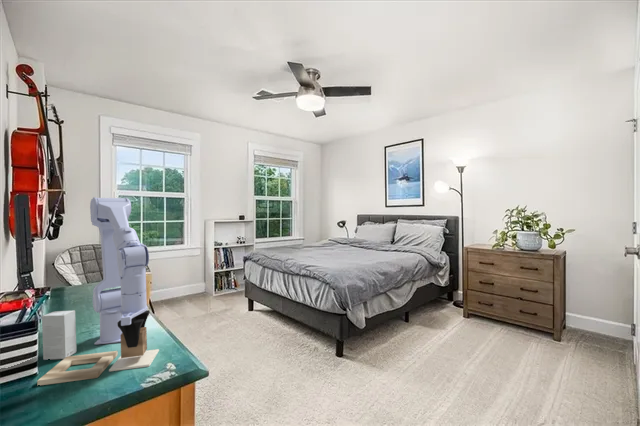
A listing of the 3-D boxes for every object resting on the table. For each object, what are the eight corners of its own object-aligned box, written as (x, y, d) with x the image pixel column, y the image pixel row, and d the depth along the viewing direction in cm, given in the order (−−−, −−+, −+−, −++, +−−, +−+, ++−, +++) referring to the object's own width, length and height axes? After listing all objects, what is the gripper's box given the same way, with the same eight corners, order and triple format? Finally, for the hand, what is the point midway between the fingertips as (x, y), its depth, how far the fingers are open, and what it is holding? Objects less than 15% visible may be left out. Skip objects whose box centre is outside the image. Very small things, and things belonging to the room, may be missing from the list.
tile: (123, 355, 85) (123, 353, 85) (158, 350, 87) (158, 349, 87) (109, 371, 76) (109, 369, 76) (149, 366, 78) (149, 364, 78)
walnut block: (126, 351, 82) (125, 329, 82) (146, 348, 84) (146, 326, 84) (121, 358, 79) (120, 335, 78) (143, 355, 80) (142, 332, 80)
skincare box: (77, 352, 87) (76, 310, 87) (65, 359, 83) (64, 315, 83) (55, 353, 87) (54, 310, 87) (42, 360, 83) (40, 315, 83)
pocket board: (66, 361, 82) (66, 356, 82) (117, 355, 85) (117, 350, 85) (37, 385, 70) (37, 380, 70) (97, 377, 73) (97, 372, 73)
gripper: (125, 286, 87) (126, 334, 87) (105, 301, 73) (107, 357, 73) (153, 284, 89) (154, 331, 89) (139, 298, 75) (140, 353, 75)
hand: (135, 343), depth 81 cm, fingers closed on walnut block, 4 cm apart
